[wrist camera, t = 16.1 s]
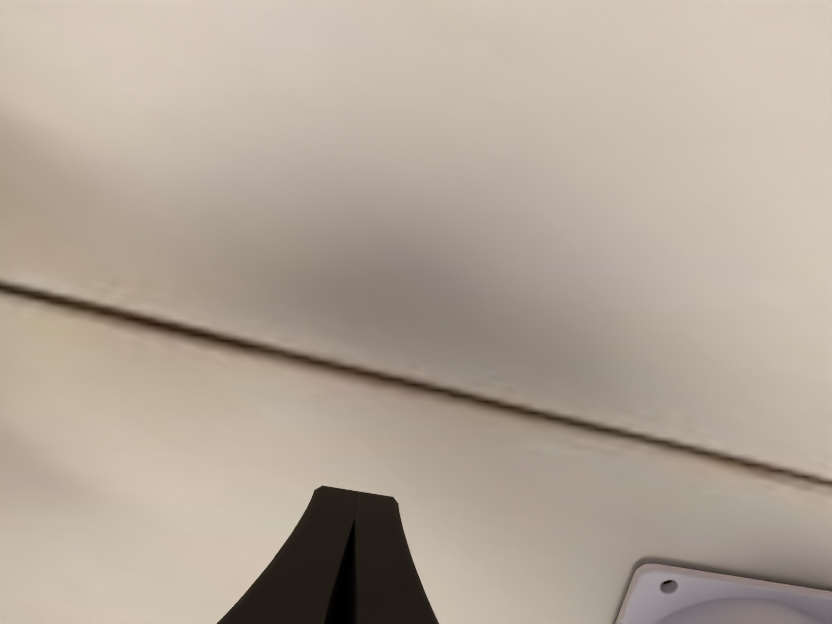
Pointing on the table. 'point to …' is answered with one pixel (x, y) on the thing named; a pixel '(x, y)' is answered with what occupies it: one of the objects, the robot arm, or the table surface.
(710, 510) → the table surface
